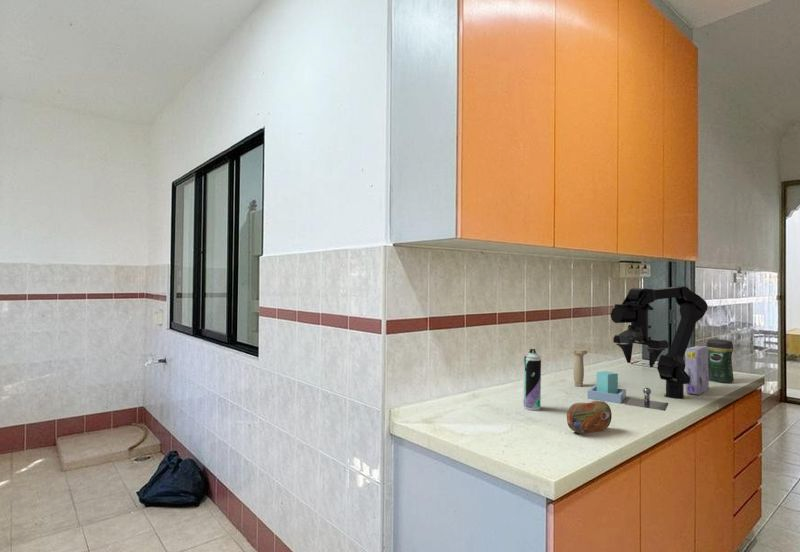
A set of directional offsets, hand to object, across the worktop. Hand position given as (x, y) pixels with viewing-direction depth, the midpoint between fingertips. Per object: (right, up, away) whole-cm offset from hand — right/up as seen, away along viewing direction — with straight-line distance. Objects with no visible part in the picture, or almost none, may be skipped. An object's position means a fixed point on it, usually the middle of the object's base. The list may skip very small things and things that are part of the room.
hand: (639, 365), depth 167 cm
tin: (-34, -12, -36) cm, 51 cm away
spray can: (-44, -12, -14) cm, 47 cm away
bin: (-12, -13, 0) cm, 18 cm away
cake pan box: (+32, -14, +16) cm, 38 cm away
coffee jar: (+55, -15, +36) cm, 67 cm away
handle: (-14, -13, +22) cm, 29 cm away
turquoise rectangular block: (-12, -12, 0) cm, 17 cm away
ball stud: (-1, -13, -8) cm, 15 cm away
